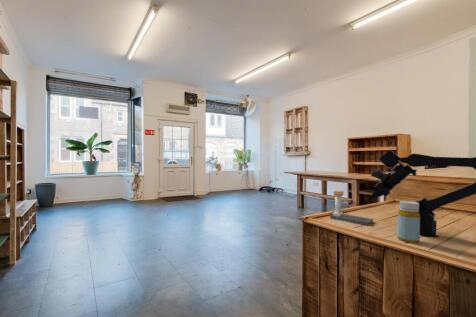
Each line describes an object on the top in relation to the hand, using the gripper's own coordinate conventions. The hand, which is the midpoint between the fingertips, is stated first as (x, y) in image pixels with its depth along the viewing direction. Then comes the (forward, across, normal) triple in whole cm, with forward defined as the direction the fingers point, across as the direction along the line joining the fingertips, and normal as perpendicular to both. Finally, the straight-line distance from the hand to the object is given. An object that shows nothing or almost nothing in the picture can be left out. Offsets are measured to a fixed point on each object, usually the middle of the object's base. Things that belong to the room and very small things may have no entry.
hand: (370, 197), depth 116 cm
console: (+15, 0, +2) cm, 15 cm away
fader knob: (+19, -1, -4) cm, 19 cm away
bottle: (-2, +18, +19) cm, 26 cm away
